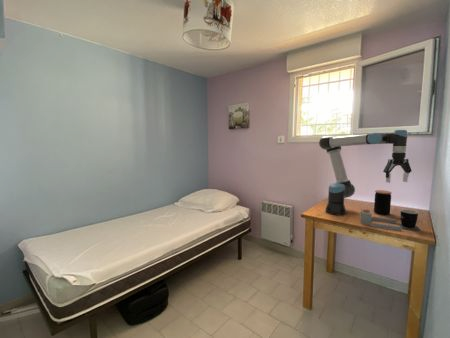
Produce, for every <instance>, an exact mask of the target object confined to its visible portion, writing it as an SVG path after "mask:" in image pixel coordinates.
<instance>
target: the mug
mask: <svg viewBox="0 0 450 338" xmlns="http://www.w3.org/2000/svg"><path fill="white" fill-rule="evenodd" d="M418 217H419V212H418V211H415V210H410V209H401V210H400V224H402V226H404V227H408V228H414V227H415V225H416V226H417V223H418Z"/></svg>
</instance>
